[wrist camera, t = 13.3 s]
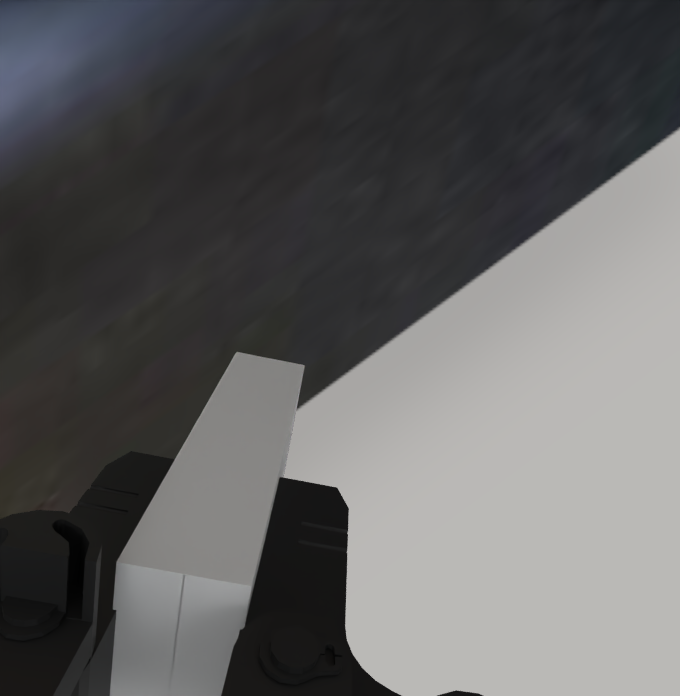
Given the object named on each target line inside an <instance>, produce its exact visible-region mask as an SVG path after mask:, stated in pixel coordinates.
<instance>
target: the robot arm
mask: <svg viewBox="0 0 680 696" xmlns="http://www.w3.org/2000/svg"><path fill="white" fill-rule="evenodd" d="M304 366H305V365H300V364H295V363H290V362H285V361H280V360H275V359H270V358H265V357H259V356H254V355H249V354H244V353H239V352H236V354H235V355H234V357H233V359H232V361H231V362H230V364H229V366H228V368H227V369H226V371H225V373H224V375H223V376H222V378H221V380H220V382H219V383H218V385H217V387H216V389H215V390H214V392H213V394H212V396H211V397H210V399H209V401H208V403H207V404H206V406H205V408H204V410H203V411H202V413H201V415H200V417H199V418H198V420H197V422H196V424H195V425H194V427H193V429H192V431H191V432H190V434H189V436H188V438H187V439H186V441H185V443H184V445H183V446H182V448H181V450H180V452H179V453H178V455H177V457H176V459H170V458H164V457H159V456H154V455H148V454H143V453H138V452H132V451H131V452H129V453H127V454H125V455H124V456H122V457H120V458H118V459H117V460H115V461H113V462H111V463H110V464H108V465H106V466H105V468H104V469H103V470H102V471H101V473H100V474H99V475H98V477H97V478H96V479H95V481H94V482H93V483H92V484H91V488H90V489H88V490H87V491H86V492H85V494H84V495H83V496H82V497H81V499H80V500H79V501H78V505H77V506H75V507H74V508H73V509H72V510H71V512H70V513H66V512H63V511H45V510H36V511H30V512H24V513H18V514H12V515H10V516H7V517H5V518H2V519H0V696H401V695H399V694H397V693H395V692H393V691H391V690H390V689H388V688H386V687H385V686H383V685H382V684H380V683H378V682H377V681H375V680H374V679H373V678H372V677H371V676H370V675H369V674H368V673H367V672H366V671H365V670H364V669H362V668H361V666H360V664H359V663H358V662H357V660H356V659H355V657H354V656H353V654H352V652H351V650H350V647H349V645H348V642H347V639H346V630H345V610H346V609H345V607H346V577H347V541H348V534H347V532H348V510H349V509H348V507H347V505H346V503H345V501H344V499H343V497H342V496H341V494H340V492H339V490H338V489H337V488H336V487H330V486H325V485H320V484H314V483H309V482H304V481H298V480H293V479H288V478H283V476H284V472H285V466H286V461H287V455H288V451H289V445H290V440H291V435H292V430H293V424H294V419H295V414H296V409H297V403H298V398H299V393H300V388H301V382H302V377H303V372H304ZM438 696H482V695H480V694H477V693H470V692H463V691H453V692H449V693H445V694H442V695H438Z"/></svg>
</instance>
